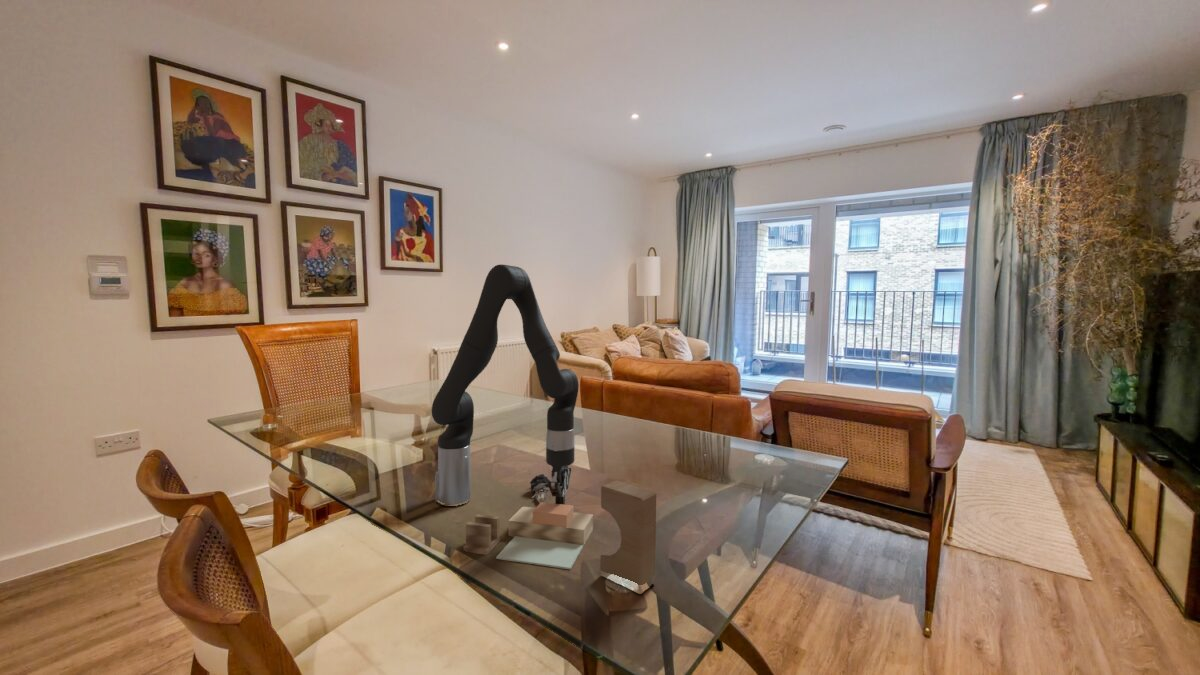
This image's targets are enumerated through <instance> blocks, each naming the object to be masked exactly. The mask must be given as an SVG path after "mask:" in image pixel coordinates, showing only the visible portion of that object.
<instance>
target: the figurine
mask: <svg viewBox="0 0 1200 675" xmlns="http://www.w3.org/2000/svg"><path fill="white" fill-rule="evenodd" d="M549 481H551V480H550V479H549V477H548V476H546V475H545V474H544V473H542V474H539V475H536V476H534V477H533V478H532V480H530V482H529V484H530V489H531V492H532V493H533V494H534V495H532V496H531V499H535V500H536V501H537V502H538V503H539V504H540V503H541V502H545V500H546V499H547V497H548V494H547V491H550V489H549V486H548V483H549Z"/></svg>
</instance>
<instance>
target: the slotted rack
mask: <svg viewBox="0 0 1200 675" xmlns="http://www.w3.org/2000/svg"><path fill="white" fill-rule="evenodd" d="M502 538H503V537H502V534H501V533H500V516H497V515H496V516H495V515H486V514H479V513H478V514H476V515H475V516H474V522H472V521H468V522H467V523H465V545H463V552H464V551H465V552H464V553H471V554H479V555H484V556H487V555H488V554H489V553H491V551H492V550H493V549H494V547H495V546H496V545H498V544H499V543H500V541H502Z"/></svg>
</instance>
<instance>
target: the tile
mask: <svg viewBox="0 0 1200 675" xmlns="http://www.w3.org/2000/svg"><path fill="white" fill-rule="evenodd" d="M534 508H535V509H534V510H533V523H537V524H545V525H553V526H562V527H567V526H568V524H569V523H570V521H571V520H572V519H573V517H574V508H575V505H572V504H571V505H570V504H565V505H563V504H555V503H553V502H545V501H543V502H542V501H541V503H539V504H538V505H536V507H534Z"/></svg>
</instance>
